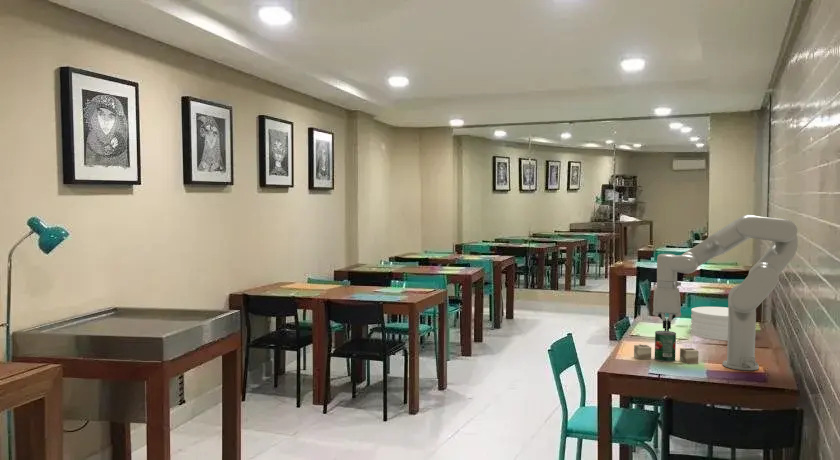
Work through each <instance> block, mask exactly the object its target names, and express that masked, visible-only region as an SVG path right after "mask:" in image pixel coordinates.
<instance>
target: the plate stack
mask: <svg viewBox="0 0 840 460" xmlns="http://www.w3.org/2000/svg"><path fill="white" fill-rule="evenodd" d="M690 317H691V320H690V328H691V329H690V334H692V335H693V336H696V337H699V338H702V339H703V338H704V339H708V340H716V341H727V342H728V307H725V306H697V307H693V308H691V314H690ZM755 333H756V329H755Z"/></svg>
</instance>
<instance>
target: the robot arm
mask: <svg viewBox="0 0 840 460" xmlns="http://www.w3.org/2000/svg"><path fill="white" fill-rule="evenodd" d="M797 234H798V227H797V225H796V223H795V222H794V221H792V220H790V219H787V218H778V217H777V218H776V217H770V216H769V217H767V216H759V215H753V214H744V215H741V216H739V217H738V218H737V219H734V220H733V221H731V222H730V223H728V224H727V225H726V226H724V227H722V228H721V229H719V230H717V231H716V232H714V233H713V234H711V235H710V236H708V237H707V238H706V239H704V240H703V241H701V242H700V243H698V244H696V245H694V246H693V247H691V248H690V249H689V250H687V251H685V252H684V253H682V254H679V255H678V254H677V255H676V254H673V253H660V254H658V255H657V256H656V287H654V290H653V292H654V293H653V303H652V307H653V311H652V316H656V317H659V319H660V320H661V321H662V329H664V331H670V330H671V329H672V327H671V326H672V320H674V319H675V318H678V317H679V318H680V317H682V312H681V310H682V309H681V307H682V306H681V293H680V292H681V291H680V288H678V287H680V286H682V282H680V281H678V273H682V274H692V273H694V272H695V271H697V269H698V268H699V267H700V266H702V265H703V264H705V263H706V262H708V261H710V260H711V259H714V258H716V257H718V256H721V255H724V254H726V253H728V252H730V251H731V250H733V249H734V248H736V247H738V246H739V245H741V244H742V243H744V242H746V241H748V240H749V239H756V240H761V241H769V242H772V243H771V244H770V246H769V248H768V249H767V250H766V251H765V252H764V254H763V255H762V256H761V257H760V259H758V261H757V262H756V263H755V264H754V265H753V266H751V268H750V269H749V271H748V275H747V276H746V277H745V279H744V280H743V281H742V282H741V283H740V284H737V285H735V286H733V287H732V288H731V289H730V290H729V292H728V296H727V301H728V302H727V303H728V305H727V306H728V341H727V344H726V345H727V346H726V347H727V348H726V350H727V351H726V352H727V353H726V359H725V360H722V365H723V367H726V368H729V369H732V370H738V371H739V370H740V371H757V370H759V369H760V365H759V363H758V362H756V357H755V354H756V352H755V351H756V332H755V330H756V328H757V325H756V324H757V308H758V307H759V306H760V305H761V304H762V302H763V301H764V300H765V299H766V298H767V297H768V296H769V295H770V294H771V293H772V292H773V291H774V289H775V288H776V286H777V285H778V282H779V280H780V279H779V277H780V274H781V273H782V272H783V271H784V270H785V269H786V267H787V266H788V265H789V264H790V262H791V261H792V260H793V259H794V257H795V256H796V252H797V250H798V245H799V244H798V242H799V241H798V235H797ZM666 314H668V318H667V319H666Z"/></svg>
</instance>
